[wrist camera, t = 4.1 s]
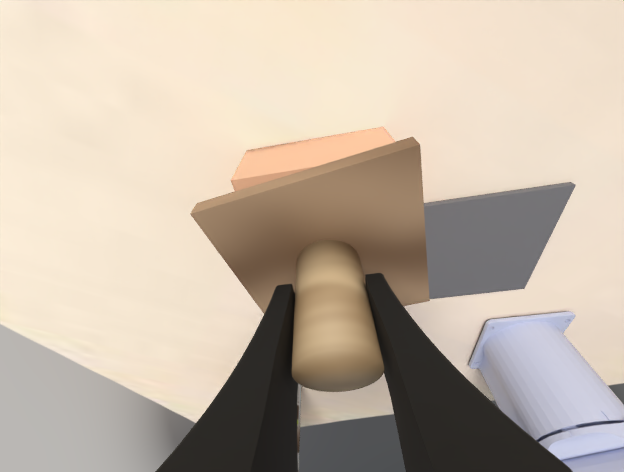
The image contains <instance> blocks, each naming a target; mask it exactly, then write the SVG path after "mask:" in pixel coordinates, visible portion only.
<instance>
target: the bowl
mask: <svg viewBox="0 0 624 472" xmlns="http://www.w3.org/2000/svg"><path fill="white" fill-rule="evenodd" d="M394 142H395V140H394V139H393V138H392V137H391V135H390V134H389V133H388V132H387V131H386V129H385V128H384V127H380V128H374V129H368V130H363V131H357V132H351V133H345V134H339V135H334V136H328V137H322V138H316V139H310V140H305V141H299V142H293V143H287V144H281V145H276V146H270V147H264V148H258V149H252V150H247V151H246V153H245V155H244V157H243V158H242V160H241V162H240V164H239V166H238V168H237V170H236V172H235V173H234V175H233V177H232V179H231V182H232V185H233V187H234V190H235V192H236V191H239V190H242V189H245V188H248V187H252V186H255V185H258V184H261V183H265V182H268V181H271V180H274V179H278V178H281V177H284V176H287V175H291V174H294V173H297V172H300V171H303V170H307V169H310V168H313V167H316V166H320V165H323V164H326V163H329V162H333V161H336V160H339V159H342V158H346V157H349V156H352V155H355V154H358V153H362V152H365V151H368V150H371V149H375V148H378V147H381V146H384V145H388V144H391V143H394Z"/></svg>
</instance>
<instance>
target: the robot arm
mask: <svg viewBox="0 0 624 472" xmlns="http://www.w3.org/2000/svg"><path fill="white" fill-rule="evenodd" d="M365 280H366V289H367V293H368V298H369V302H370V307H371V311H372V315H373V320H374V324H375V328H376V333H377V337H378V342H379V346H380V351H381V355H382V359H383V364H384V374H385V377H386V381H387V384H388V388H389V392H390V396H391V400H392V405H393V410H394V415H395V420H396V424H397V429H398V433H399V439H400V444H401V449H402V454H403V459H404V464H405V469H406V472H624V405H623V403H622V402H621V401H620V400H619V399H618V398H617V397H616V395H615V394H614V393H613V392H612V391H611V390H610V388H609V387H608V386H607V385H606V383H605V382H604V381H603V380H602V379H601V378H600V376H599V375H598V374H597V373H596V372H595V371H594V369H593V368H592V367H591V366H590V365H589V363H588V362H587V361H586V360H585V359H584V358H583V356H582V355H581V354H580V353H579V352H578V351H577V349H576V348H575V347H574V346H573V345H572V343H571V342H570V341H569V340H568V339H567V338H566V336H565V335H564V334H563V332H564V331H565V330H566V328H567V327H568V326H569V324H570V323H571V322H572V320H573V319H574V318H575V314H574V313H573V312H569V311H568V312H559V313H549V314H539V315H529V316H519V317H509V318H500V319H491V320H488V321H487V322H486V323H485V326H484V328H483V331H482V333H481V336H480V338H479V340H478V343H477V345H476V348H475V350H474V353H473V355H472V358H471V360H470V362H469V367H470V368H472V369H476V368H479V369H480V371H481V373H482V375H483V377H484V379H485V381H486V383H487V385H488V387H489V389H490V391H491V393H492V395H493V397H494V399H495V401H496V403H497V405H498V407H499V408H498V407H496V406H495V405H494V404H493V403H492V402H491V401H490V400H489V399H488V398H487V397H486V396H485V395H484V394H482V393H481V392H480V391H479V390H478V389H477V388H476V387H475V386H474V385H473V384H472V383H471V382H470V381H468V380H467V379H466V378H465V377H464V376H463V375H462V374H461V373H460V372H459V371H458V370H457V369H456V368H455V367H454V366H453V365H452V363H451V362H450V361H449V360H448V359H447V358H446V357H445V356H444V355H443V354H442V353H441V352H440V351H439V350H438V348H437V347H436V346H435V345H434V344H433V343H432V342H431V341H430V339H429V338H428V337H427V336H426V335H425V333H424V332H423V331H422V330H421V329H420V327H419V326H418V325H417V324H416V322H415V321H414V320H413V319H412V317H411V316H410V315H409V313H408V312H407V311H406V309H405V308H404V307H403V305H402V304H401V303H400V301H399V300H398V298H397V297H396V295H395V294H394V292H393V291H392V289H391V288H390V286H389V284H388V283H387V281H386V279H385V277H384V275H383V274H382V273H374V274H366V275H365ZM294 307H295V292H294V289H293V286H292V284H284V285H277V286H276V288H275V290H274V293H273V295H272V298H271V300H270V303H269V305H268V307H267V309H266V312H265V314H264V316H263V318H262V320H261V322H260V324H259V326H258V328H257V330H256V332H255V334H254V336H253V338H252V340H251V342H250V343H249V345H248V347H247V349H246V351H245V352H244V354H243V356H242V358H241V359H240V361H239V363H238V364H237V366H236V367H235V369H234V371H233V372H232V374H231V375H230V377H229V378H228V380H227V382H226V383H225V384H224V386H223V387H222V389H221V390H220V392H219V393H218V395H217V396H216V397H215V399H214V400H213V402H212V403H211V404H210V406H209V407H208V408H207V410H206V411H205V413H204V414H203V415H202V416H201V418H200V419H199V420H198V421H197V423H196V424H195V425H194V427H193V428H192V429H191V430H190V432H189V433H188V434H187V435H186V437H185V438H184V439H183V440H182V442H181V443H180V444H179V445H178V446H177V448H176V449H175V450H174V451H173V453H172V454H171V455H170V456H169V457H168V458H167V459H166V460H165V462H164V463H163V464H162V465H161V466H160V467H159V468H158V469H157V471H156V472H298V447H297V394H298V383H297V382H296V381H295V380H294V378H293V377H292V352H293V330H294Z"/></svg>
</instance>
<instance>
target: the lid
mask: <svg viewBox="0 0 624 472" xmlns="http://www.w3.org/2000/svg"><path fill="white" fill-rule="evenodd" d="M191 216H192V217H193V218H194V220H195V221H196V222H197V224H198V225H199V226H200V228H201V229H202V230H203V232H204V233H205V235H206V236H207V237H208V239H209V240H210V241H211V243H212V244H213V245H214V247H215V248H216V249H217V251H218V252H219V253H220V255H221V256H222V257H223V259H224V260H225V262H226V263H227V264H228V266H229V267H230V268H231V270H232V271H233V272H234V274H235V275H236V276H237V278H238V279H239V280H240V282H241V283H242V285H243V286H244V287H245V289H246V290H247V291H248V293H249V294H250V295H251V297H252V298H253V299H254V301H255V302H256V303H257V305H258V306H259V307H260V309H261V310H262V312H263V313H264V314H265V312H266V309H267V307H268V305H269V303H270V300H271V298H272V295H273V293H274V290H275V288H276V286H277V285H284V284H292V286H293V289H294V292H295V307H294V330H293V352H292V377H293V378H294V380H295V381H296V382H297V383H299V384H300V385H302V386H304V387H307V388H309V389H313V390H318V391H326V392H342V391H350V390H355V389H359V388H362V387H365V386H368V385H370V384H372V383H374V382H375V381H377V380H378V379H379V378H380V377H381V376H382V375H383V373H384V364H383V359H382V355H381V351H380V346H379V342H378V337H377V333H376V328H375V324H374V320H373V315H372V311H371V307H370V302H369V298H368V293H367V289H366V280H365V275H366V274H374V273H382V274H383V275H384V277H385V279H386V281H387V283H388V284H389V286H390V288H391V289H392V291H393V292H394V294H395V295H396V297H397V298H398V300H399V301H400V303H401V304H402V305H403V306H406V305H411V304H416V303H421V302H426V301H430V299H429V283H428V267H427V251H426V235H425V218H424V202H423V186H422V170H421V154H420V144H419V143H418V142H417V141H416V140H415V139H414V138H413V137H410V138H407V139H404V140H400V141H397V142H394V143H391V144H388V145H384V146H381V147H378V148H375V149H371V150H368V151H365V152H362V153H358V154H355V155H352V156H349V157H346V158H342V159H339V160H336V161H333V162H329V163H326V164H323V165H320V166H316V167H313V168H310V169H307V170H303V171H300V172H297V173H294V174H291V175H287V176H284V177H281V178H278V179H274V180H271V181H268V182H265V183H261V184H258V185H255V186H252V187H248V188H245V189H242V190H239V191H236V192H232V193H229V194H226V195H223V196H219V197H216V198H213V199H210V200H206V201H203V202H200V203H197V204H196V206H195V207H194V209H193V210H192V212H191Z"/></svg>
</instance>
